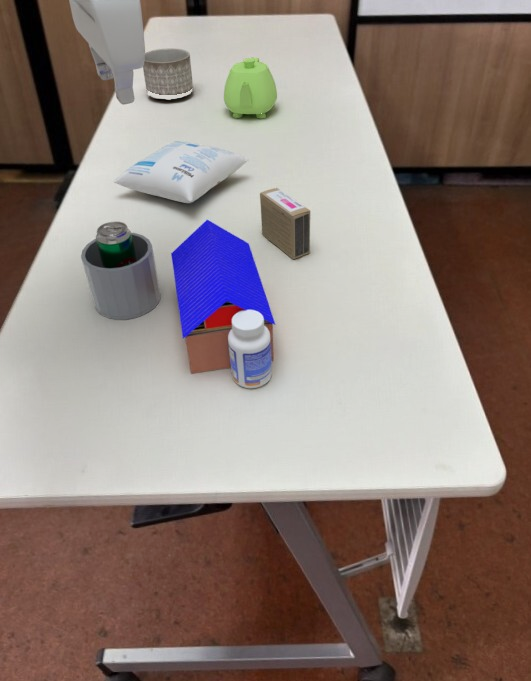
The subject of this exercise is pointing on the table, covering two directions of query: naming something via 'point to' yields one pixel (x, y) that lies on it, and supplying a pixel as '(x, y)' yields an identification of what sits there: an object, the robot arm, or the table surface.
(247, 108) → the teapot
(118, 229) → the soda can
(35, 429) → the table surface
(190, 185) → the pouch
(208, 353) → the house
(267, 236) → the ink box
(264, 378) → the pill bottle
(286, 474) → the table surface
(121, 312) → the steel cup
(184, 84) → the planter
